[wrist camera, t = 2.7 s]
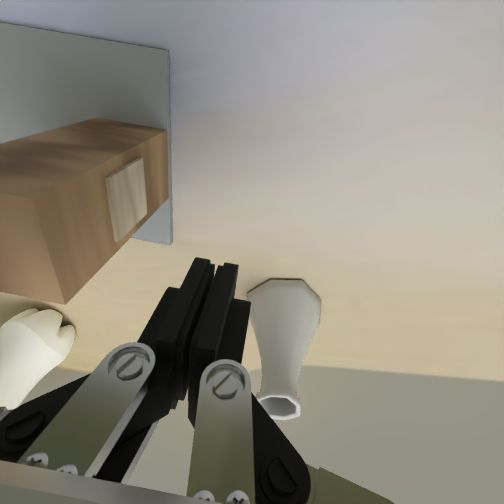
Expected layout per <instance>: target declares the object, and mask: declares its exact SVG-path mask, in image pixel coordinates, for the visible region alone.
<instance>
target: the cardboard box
mask: <svg viewBox="0 0 504 504" xmlns="http://www.w3.org/2000/svg"><path fill="white" fill-rule="evenodd" d="M168 198H169V181H168V144H167V130H164V129H159V128H153V127H148V126H142V125H137V124H131V123H125V122H120V121H114V120H109V119H103V118H97V117H96V118H92V119H89V120H85V121H81V122H78V123H74V124H70V125H67V126H63V127H59V128H56V129H52V130H48V131H45V132H41V133H37V134H34V135H30V136H26V137H23V138H19V139H15V140H12V141H8V142H4V143H0V292H5V293H10V294H15V295H20V296H25V297H30V298H34V299H39V300H44V301H49V302H54V303H59V304H64V305H66V304H67V303H68V302H69V301H70V300H71V299H72V298H73V297H74V296H75V294H76V293H77V292H78V291H79V290H80V289H81V288H82V287H83V286H84V285H85V284H86V283H87V282H88V281H89V280H90V279H91V278H92V277H93V276H94V275H95V274H96V273H97V272H98V271H99V270H100V269H101V268H102V266H103V265H104V264H105V263H106V262H107V261H108V260H109V259H110V258H111V257H112V256H113V255H114V254H115V253H116V252H117V251H118V250H119V249H120V248H121V247H122V246H123V245H124V244H125V243H126V242H127V241H128V240H129V238H130V237H131V236H132V235H133V234H134V233H135V232H136V231H137V230H138V229H139V228H140V227H141V226H142V225H143V224H144V223H145V222H146V221H147V220H148V219H149V218H150V217H151V216H152V215H153V214H154V213H155V212H156V211H157V209H158V208H159V207H160V206H161V205H162V204H163V203H164V202H165V201H166V200H167V199H168Z"/></svg>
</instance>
